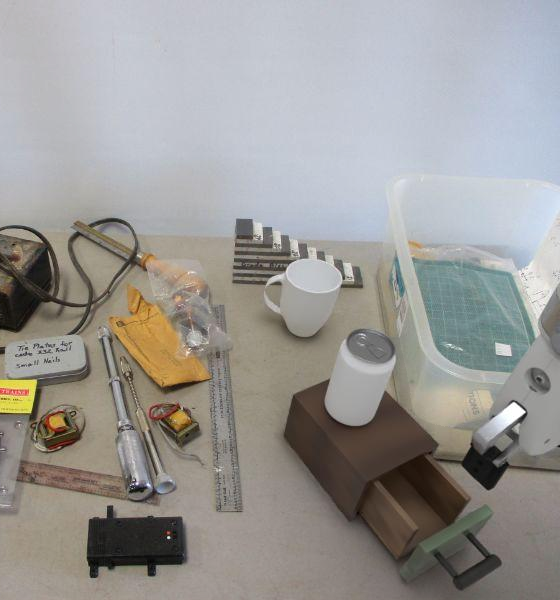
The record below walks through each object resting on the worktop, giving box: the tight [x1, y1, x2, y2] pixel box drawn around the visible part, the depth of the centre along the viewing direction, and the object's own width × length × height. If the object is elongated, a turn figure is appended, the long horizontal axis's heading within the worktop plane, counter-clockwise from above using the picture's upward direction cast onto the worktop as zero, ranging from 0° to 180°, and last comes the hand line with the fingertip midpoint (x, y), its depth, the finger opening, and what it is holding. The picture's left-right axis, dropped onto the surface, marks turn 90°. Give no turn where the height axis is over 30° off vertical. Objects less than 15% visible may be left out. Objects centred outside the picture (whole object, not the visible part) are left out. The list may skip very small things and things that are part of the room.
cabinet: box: [282, 377, 440, 522], centre depth 79 cm, size 15×12×10 cm
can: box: [325, 327, 397, 426], centre depth 73 cm, size 6×6×12 cm
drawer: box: [358, 453, 503, 591], centre depth 71 cm, size 18×10×8 cm, turn 27°
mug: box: [263, 258, 343, 338], centre depth 98 cm, size 12×9×12 cm
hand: (512, 455), depth 56 cm, fingers open, 9 cm apart
